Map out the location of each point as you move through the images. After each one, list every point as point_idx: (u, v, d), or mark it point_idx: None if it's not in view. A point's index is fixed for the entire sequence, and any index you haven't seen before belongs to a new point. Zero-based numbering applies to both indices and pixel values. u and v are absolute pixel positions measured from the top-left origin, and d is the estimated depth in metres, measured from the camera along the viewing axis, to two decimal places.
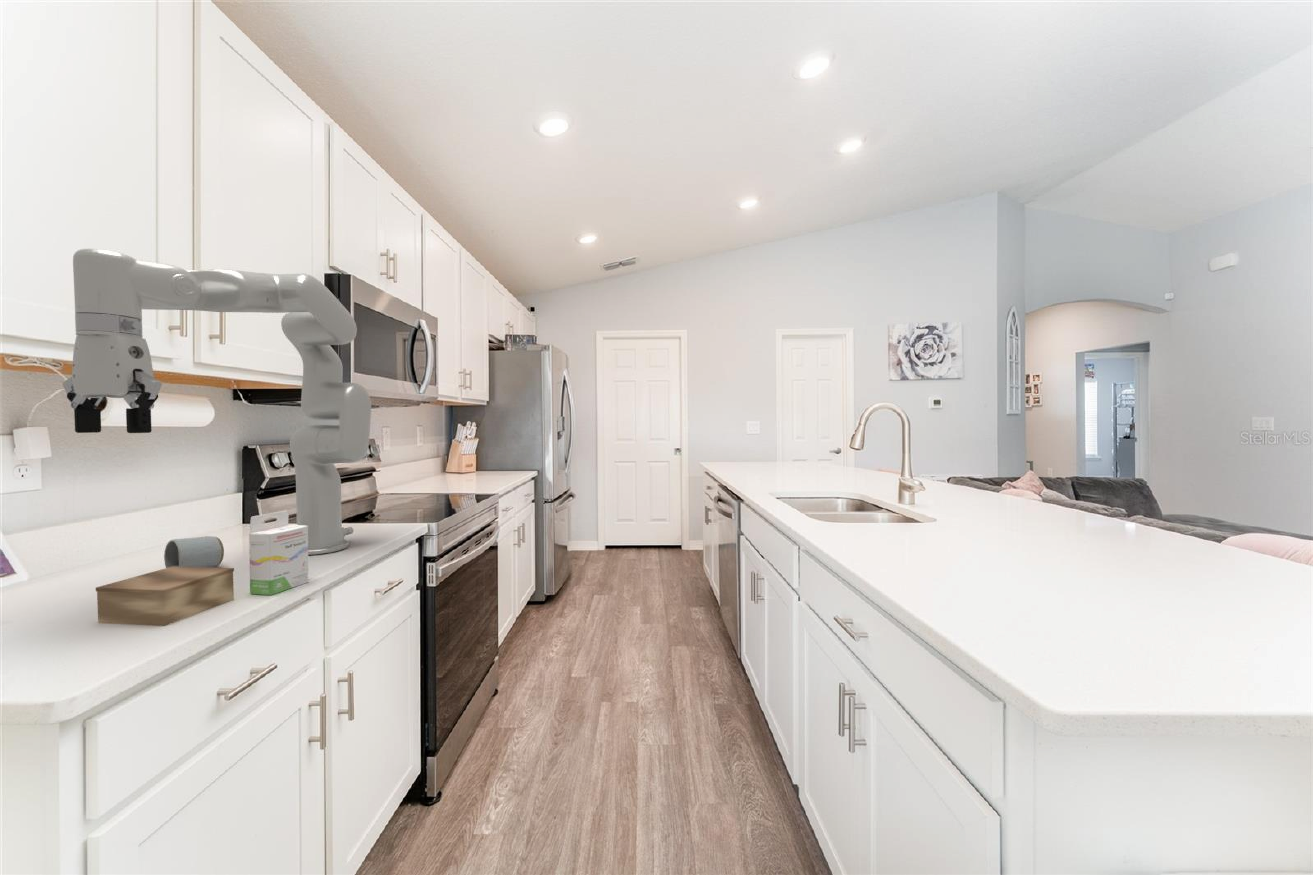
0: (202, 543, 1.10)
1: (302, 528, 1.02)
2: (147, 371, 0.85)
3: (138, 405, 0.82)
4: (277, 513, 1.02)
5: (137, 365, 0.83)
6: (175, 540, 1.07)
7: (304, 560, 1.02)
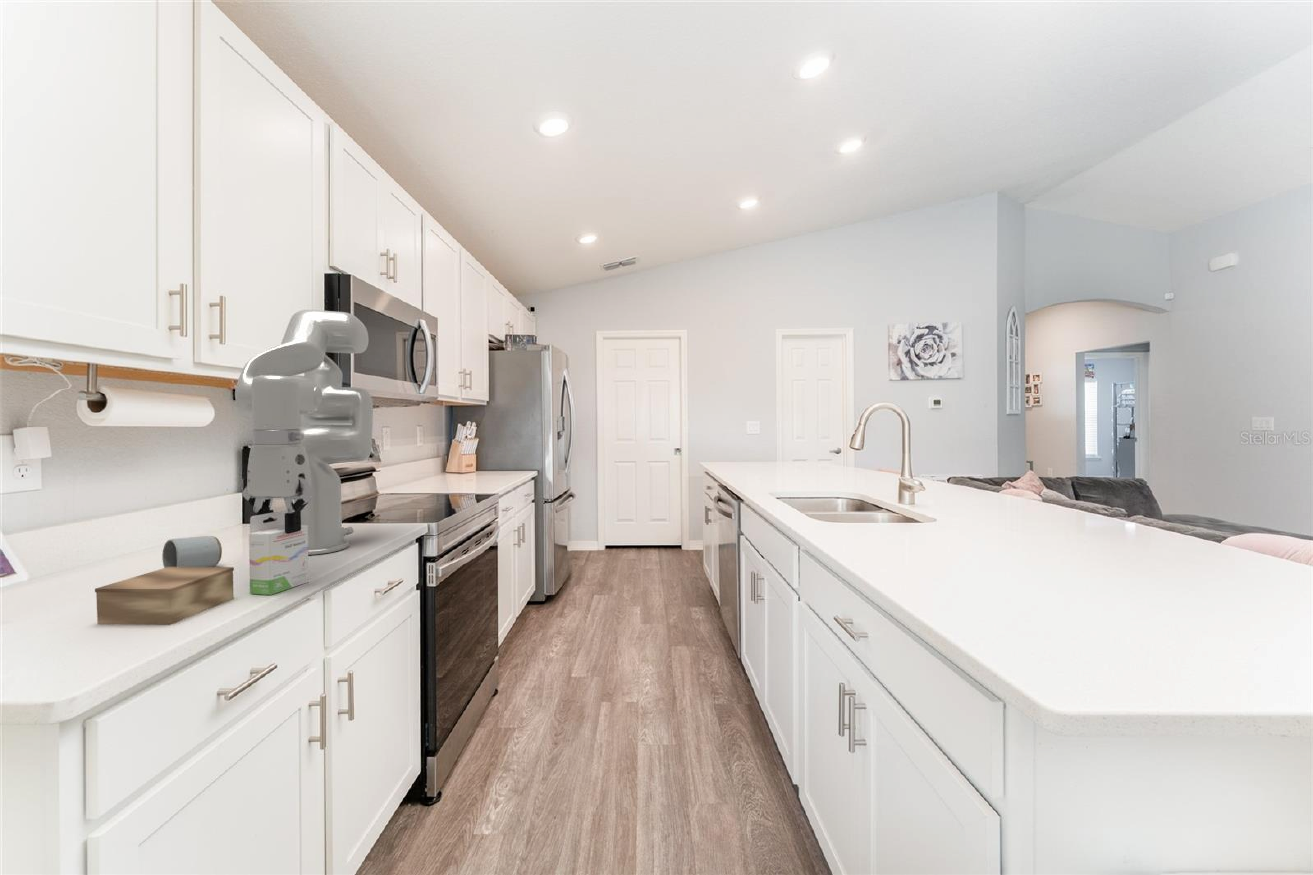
0: (200, 542, 1.10)
1: (302, 528, 1.02)
2: (307, 474, 1.00)
3: (294, 510, 0.98)
4: (277, 513, 1.02)
5: (301, 470, 0.98)
6: (173, 540, 1.08)
7: (304, 560, 1.02)
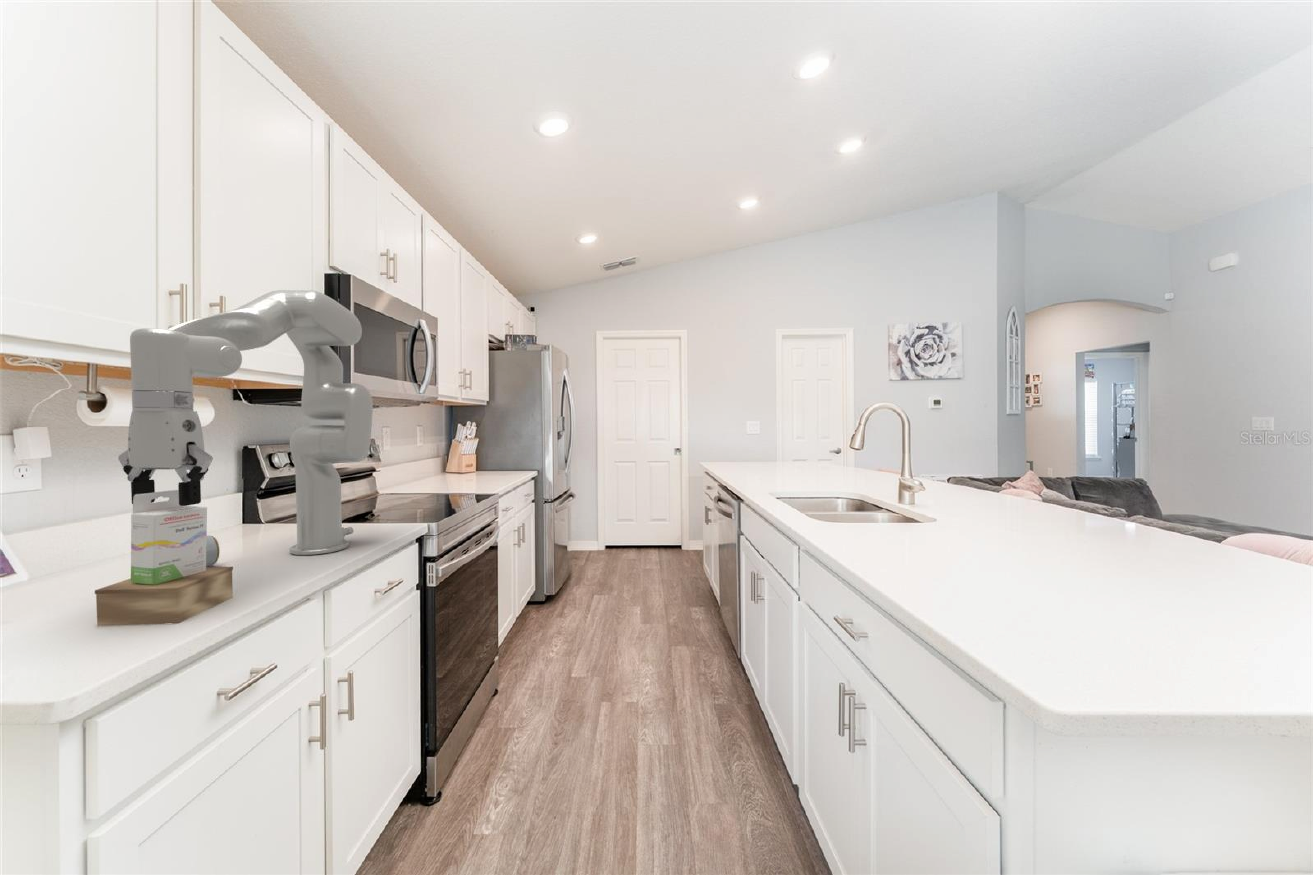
0: None
1: (199, 510, 0.90)
2: (199, 443, 0.88)
3: (190, 479, 0.86)
4: (171, 492, 0.89)
5: (190, 438, 0.86)
6: None
7: (201, 546, 0.90)
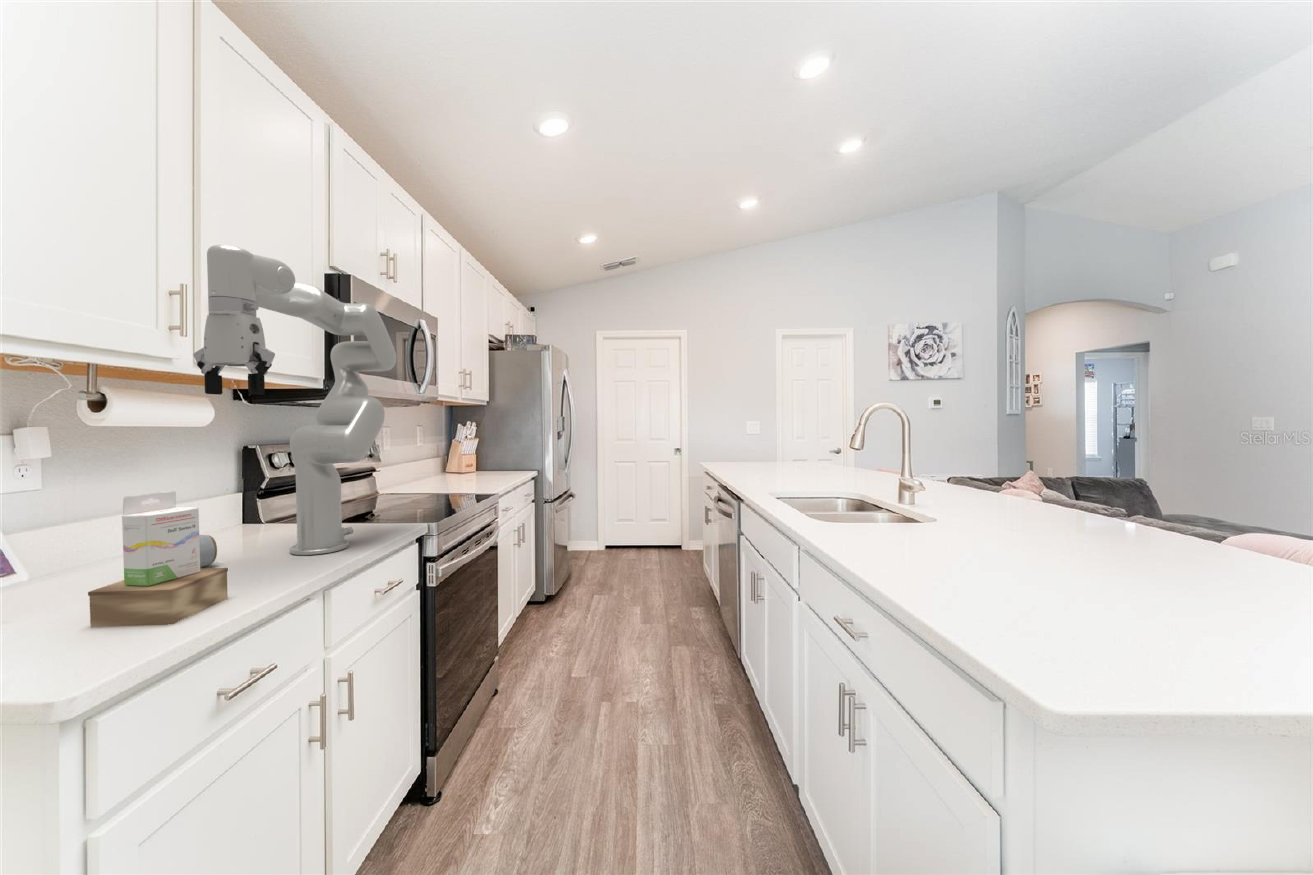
0: None
1: (190, 510, 0.89)
2: (262, 344, 1.04)
3: (257, 371, 1.02)
4: (161, 494, 0.89)
5: (255, 339, 1.03)
6: None
7: (194, 546, 0.90)
